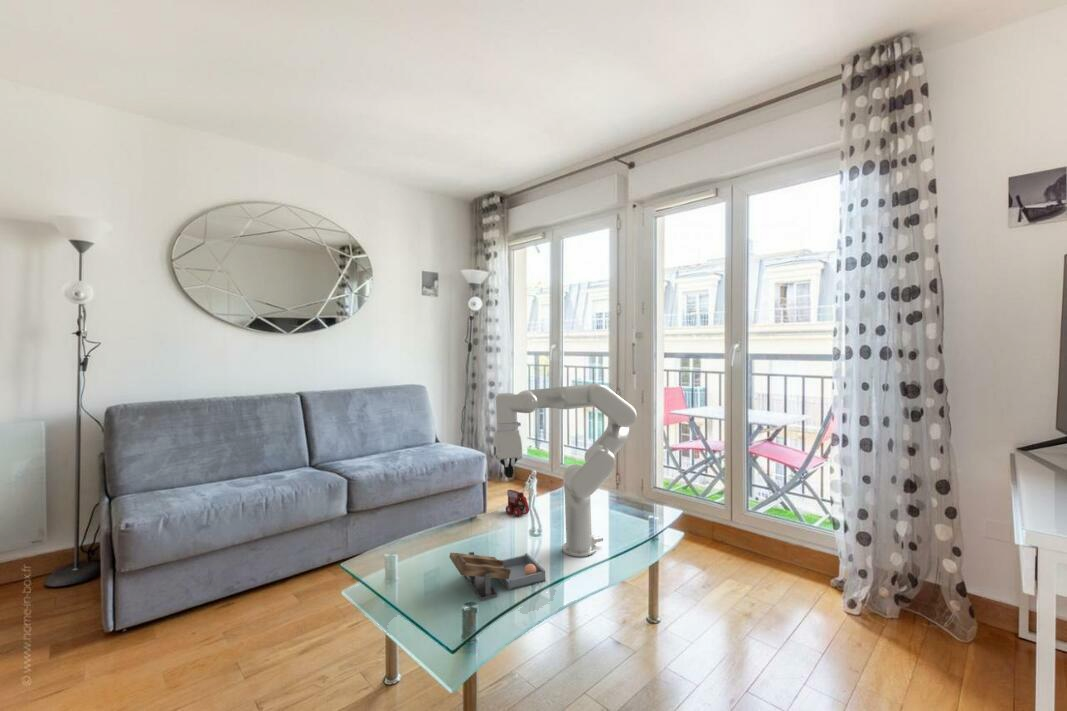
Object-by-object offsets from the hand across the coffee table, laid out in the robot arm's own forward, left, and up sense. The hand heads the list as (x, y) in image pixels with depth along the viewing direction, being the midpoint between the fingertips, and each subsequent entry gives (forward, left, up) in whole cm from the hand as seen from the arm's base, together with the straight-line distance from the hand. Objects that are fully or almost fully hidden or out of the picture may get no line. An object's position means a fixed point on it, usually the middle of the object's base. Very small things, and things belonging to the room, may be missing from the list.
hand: (509, 476), depth 173 cm
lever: (+17, +16, -22) cm, 33 cm away
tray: (+4, +16, -29) cm, 33 cm away
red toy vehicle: (-19, -40, -29) cm, 53 cm away
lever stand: (+17, +16, -29) cm, 37 cm away
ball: (+1, +19, -26) cm, 33 cm away
